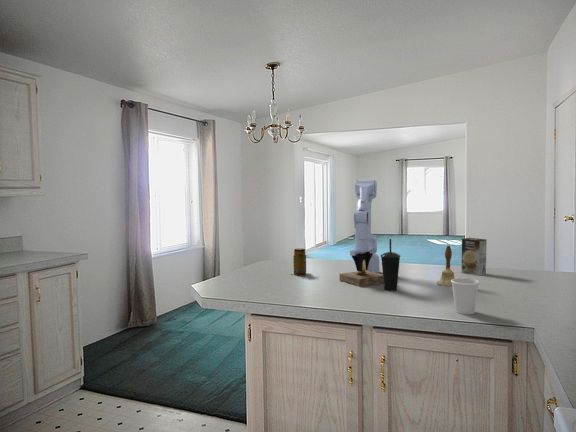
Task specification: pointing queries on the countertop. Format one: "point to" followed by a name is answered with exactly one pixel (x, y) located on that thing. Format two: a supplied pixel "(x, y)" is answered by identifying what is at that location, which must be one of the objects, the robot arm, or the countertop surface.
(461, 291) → the dixie cup
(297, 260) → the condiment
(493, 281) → the countertop surface
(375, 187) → the robot arm
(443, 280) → the hand bell
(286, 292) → the countertop surface
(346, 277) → the socket block
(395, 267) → the drinking cup
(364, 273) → the pin
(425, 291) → the countertop surface
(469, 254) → the coffee box
